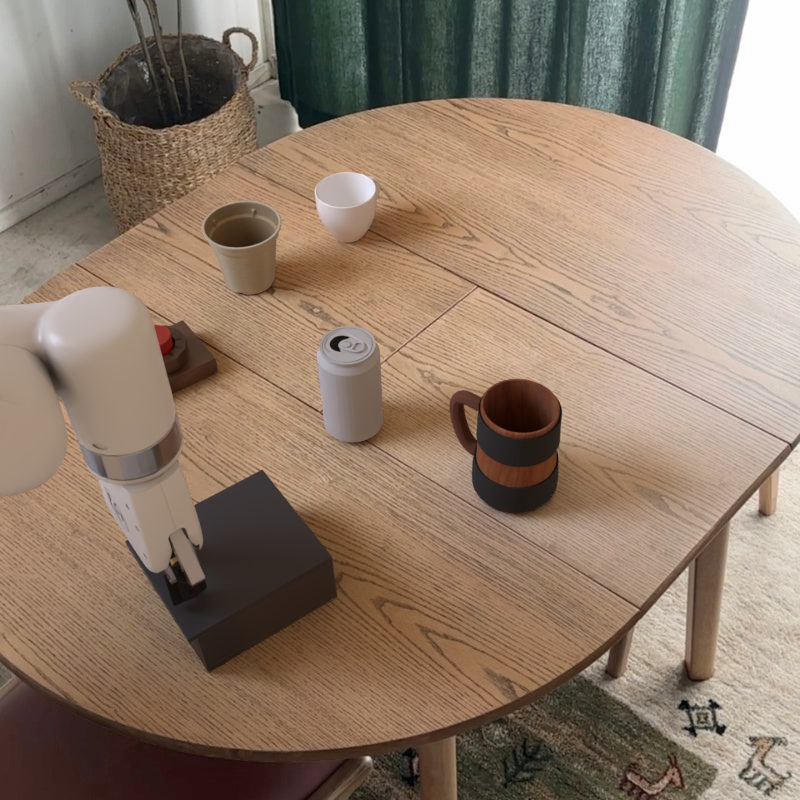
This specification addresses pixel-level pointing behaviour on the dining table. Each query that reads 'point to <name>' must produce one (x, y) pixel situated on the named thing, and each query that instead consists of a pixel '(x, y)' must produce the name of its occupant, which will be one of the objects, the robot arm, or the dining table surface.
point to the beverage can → (350, 383)
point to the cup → (347, 204)
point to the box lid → (242, 554)
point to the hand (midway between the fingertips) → (173, 571)
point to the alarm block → (187, 358)
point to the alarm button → (164, 339)
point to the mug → (511, 443)
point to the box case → (266, 618)
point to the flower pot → (244, 244)
